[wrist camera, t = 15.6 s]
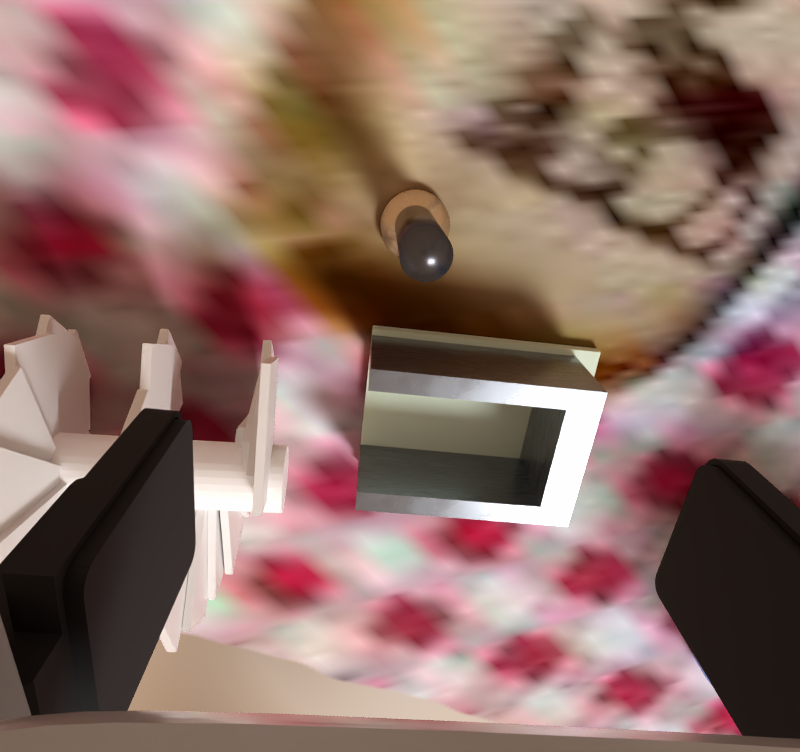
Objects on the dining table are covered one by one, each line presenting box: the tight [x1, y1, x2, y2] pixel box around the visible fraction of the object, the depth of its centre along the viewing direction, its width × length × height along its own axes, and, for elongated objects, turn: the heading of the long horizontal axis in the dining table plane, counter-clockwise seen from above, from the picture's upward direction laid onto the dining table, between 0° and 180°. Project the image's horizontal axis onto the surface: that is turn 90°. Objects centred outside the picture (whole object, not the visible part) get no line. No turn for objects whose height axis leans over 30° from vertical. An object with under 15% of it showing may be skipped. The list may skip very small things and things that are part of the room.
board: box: [360, 325, 601, 459], centre depth 41 cm, size 16×11×1 cm
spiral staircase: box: [0, 314, 289, 652], centre depth 32 cm, size 18×18×25 cm
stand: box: [381, 189, 453, 282], centre depth 31 cm, size 4×4×10 cm
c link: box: [355, 335, 607, 527], centre depth 38 cm, size 14×10×6 cm
